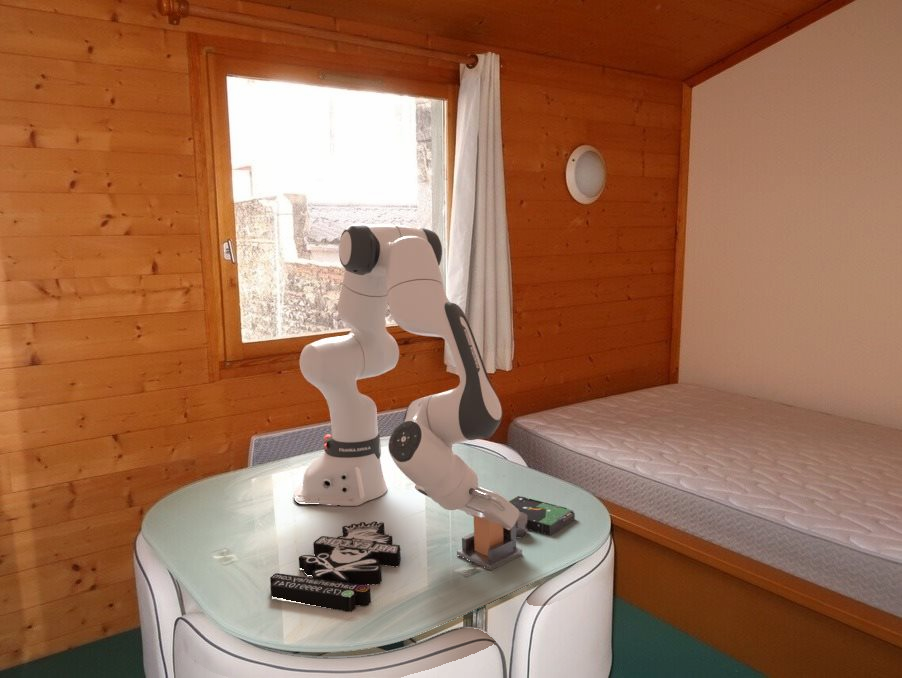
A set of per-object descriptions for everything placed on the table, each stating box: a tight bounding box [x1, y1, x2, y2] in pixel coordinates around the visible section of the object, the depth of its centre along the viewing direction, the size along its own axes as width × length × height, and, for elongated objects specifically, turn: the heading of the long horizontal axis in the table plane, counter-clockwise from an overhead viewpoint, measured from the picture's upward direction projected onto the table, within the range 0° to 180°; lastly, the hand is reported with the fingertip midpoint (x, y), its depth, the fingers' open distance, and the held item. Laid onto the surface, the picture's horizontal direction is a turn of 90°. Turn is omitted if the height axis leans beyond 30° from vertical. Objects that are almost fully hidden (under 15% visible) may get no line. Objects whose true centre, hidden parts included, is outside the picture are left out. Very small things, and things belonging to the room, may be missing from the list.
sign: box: [269, 521, 402, 613], centre depth 135 cm, size 19×3×30 cm
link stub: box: [516, 512, 528, 538], centre depth 147 cm, size 4×4×4 cm
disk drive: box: [508, 495, 576, 536], centre depth 154 cm, size 10×3×15 cm
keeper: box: [456, 505, 523, 571], centre depth 138 cm, size 9×10×10 cm
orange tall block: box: [473, 515, 503, 556], centre depth 137 cm, size 4×4×9 cm
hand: (490, 518), depth 138 cm, fingers open, 8 cm apart
